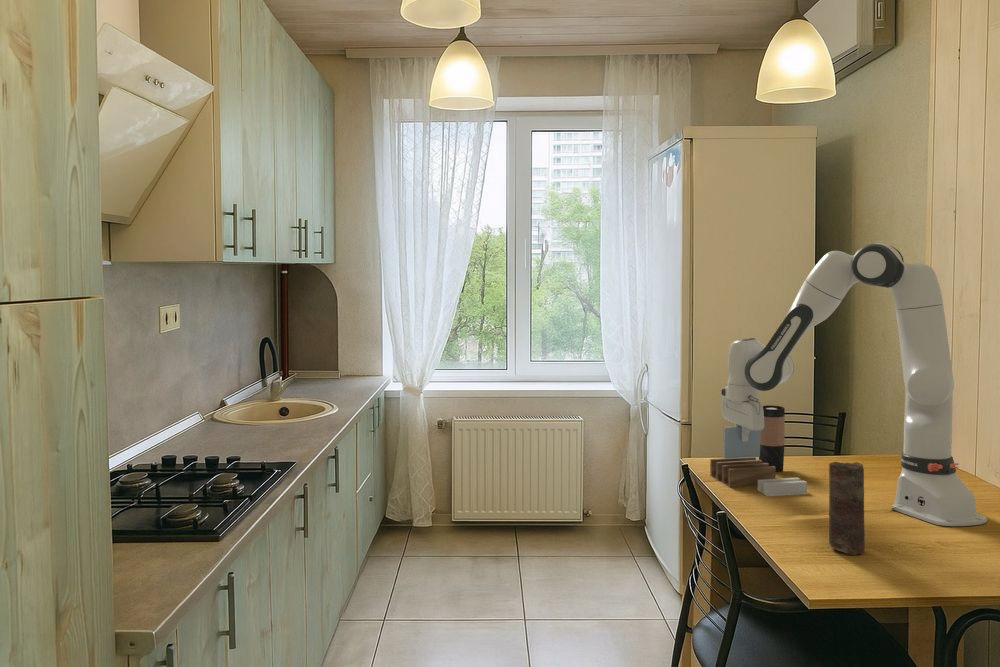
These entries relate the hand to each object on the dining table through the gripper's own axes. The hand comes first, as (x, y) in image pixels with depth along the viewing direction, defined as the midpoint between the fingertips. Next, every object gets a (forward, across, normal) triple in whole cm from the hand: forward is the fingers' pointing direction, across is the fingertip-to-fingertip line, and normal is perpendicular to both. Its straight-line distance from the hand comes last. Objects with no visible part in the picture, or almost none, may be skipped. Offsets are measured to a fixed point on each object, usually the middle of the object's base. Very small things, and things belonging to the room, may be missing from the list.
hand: (742, 440), depth 237 cm
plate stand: (+13, -14, -5) cm, 20 cm away
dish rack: (+13, 0, 0) cm, 13 cm away
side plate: (+5, 0, 0) cm, 5 cm away
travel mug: (+13, +11, -15) cm, 23 cm away
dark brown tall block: (+13, -57, +3) cm, 59 cm away
